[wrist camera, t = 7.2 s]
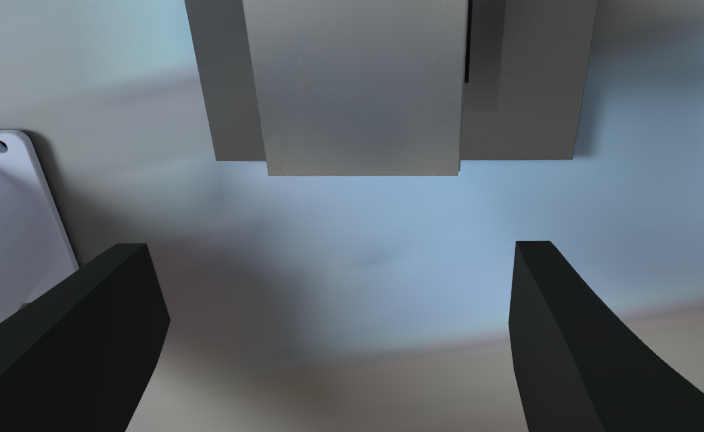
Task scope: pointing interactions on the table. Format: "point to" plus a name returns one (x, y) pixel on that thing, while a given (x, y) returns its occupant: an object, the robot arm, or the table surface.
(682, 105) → the table surface
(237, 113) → the stand base
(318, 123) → the column
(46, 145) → the table surface
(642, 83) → the table surface
